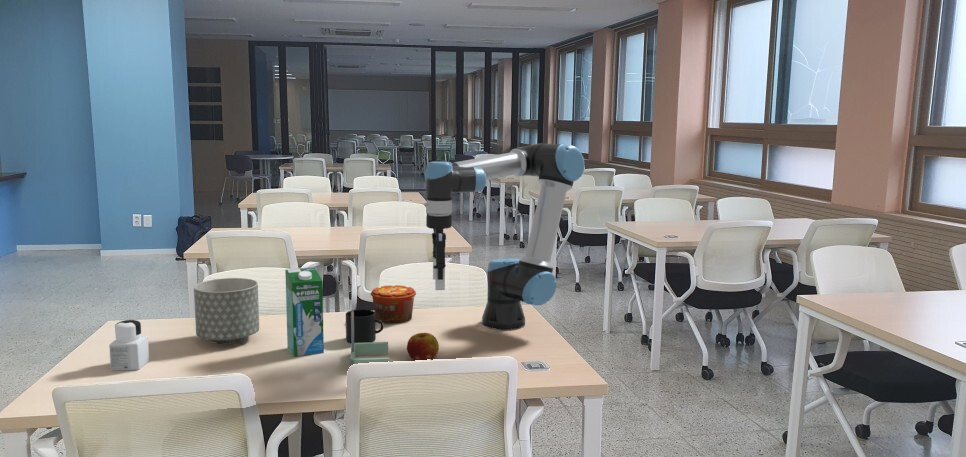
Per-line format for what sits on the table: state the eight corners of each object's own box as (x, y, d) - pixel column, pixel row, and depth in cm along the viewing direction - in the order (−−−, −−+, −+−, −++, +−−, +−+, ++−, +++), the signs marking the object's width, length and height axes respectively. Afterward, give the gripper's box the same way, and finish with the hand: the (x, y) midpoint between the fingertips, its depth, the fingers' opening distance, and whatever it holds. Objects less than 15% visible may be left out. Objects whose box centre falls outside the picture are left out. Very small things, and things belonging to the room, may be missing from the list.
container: (122, 361, 206) (119, 318, 204) (149, 360, 207) (147, 317, 205) (110, 370, 198) (107, 325, 196) (139, 370, 199) (136, 325, 197)
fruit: (401, 362, 209) (401, 336, 207) (415, 353, 217) (415, 328, 216) (430, 367, 205) (431, 340, 204) (443, 357, 214) (443, 332, 212)
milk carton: (294, 356, 212) (291, 275, 208) (287, 348, 220) (285, 269, 216) (323, 352, 216) (322, 272, 212) (316, 344, 224) (314, 266, 220)
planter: (271, 340, 227) (269, 285, 224) (214, 354, 213) (211, 295, 211) (241, 327, 240) (239, 275, 237) (185, 339, 226) (183, 284, 223)
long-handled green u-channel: (388, 352, 217) (387, 303, 215) (389, 370, 202) (389, 317, 200) (351, 354, 215) (350, 304, 213) (350, 372, 200) (349, 319, 198)
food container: (378, 312, 262) (377, 283, 260) (420, 314, 260) (420, 285, 258) (365, 324, 246) (364, 294, 244) (410, 327, 244) (410, 296, 242)
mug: (381, 345, 224) (381, 317, 223) (343, 344, 224) (343, 316, 223) (385, 336, 233) (385, 309, 232) (348, 335, 233) (348, 308, 232)
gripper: (424, 208, 221) (424, 275, 224) (428, 220, 196) (427, 295, 200) (448, 208, 222) (448, 275, 225) (455, 220, 197) (454, 294, 201)
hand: (438, 284), depth 213 cm, fingers open, 13 cm apart
